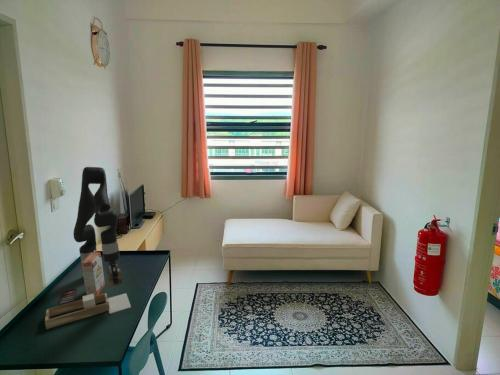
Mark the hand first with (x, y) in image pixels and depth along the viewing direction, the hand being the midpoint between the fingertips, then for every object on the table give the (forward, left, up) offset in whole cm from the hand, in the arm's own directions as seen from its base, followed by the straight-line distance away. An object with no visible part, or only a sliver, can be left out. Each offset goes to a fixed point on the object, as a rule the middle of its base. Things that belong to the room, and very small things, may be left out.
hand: (115, 281), depth 158 cm
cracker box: (-21, -9, -13) cm, 26 cm away
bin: (-2, -18, -12) cm, 22 cm away
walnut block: (0, 0, -1) cm, 1 cm away
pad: (0, 0, -12) cm, 12 cm away
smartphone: (-24, -23, -13) cm, 36 cm away
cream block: (-2, -13, -12) cm, 18 cm away
